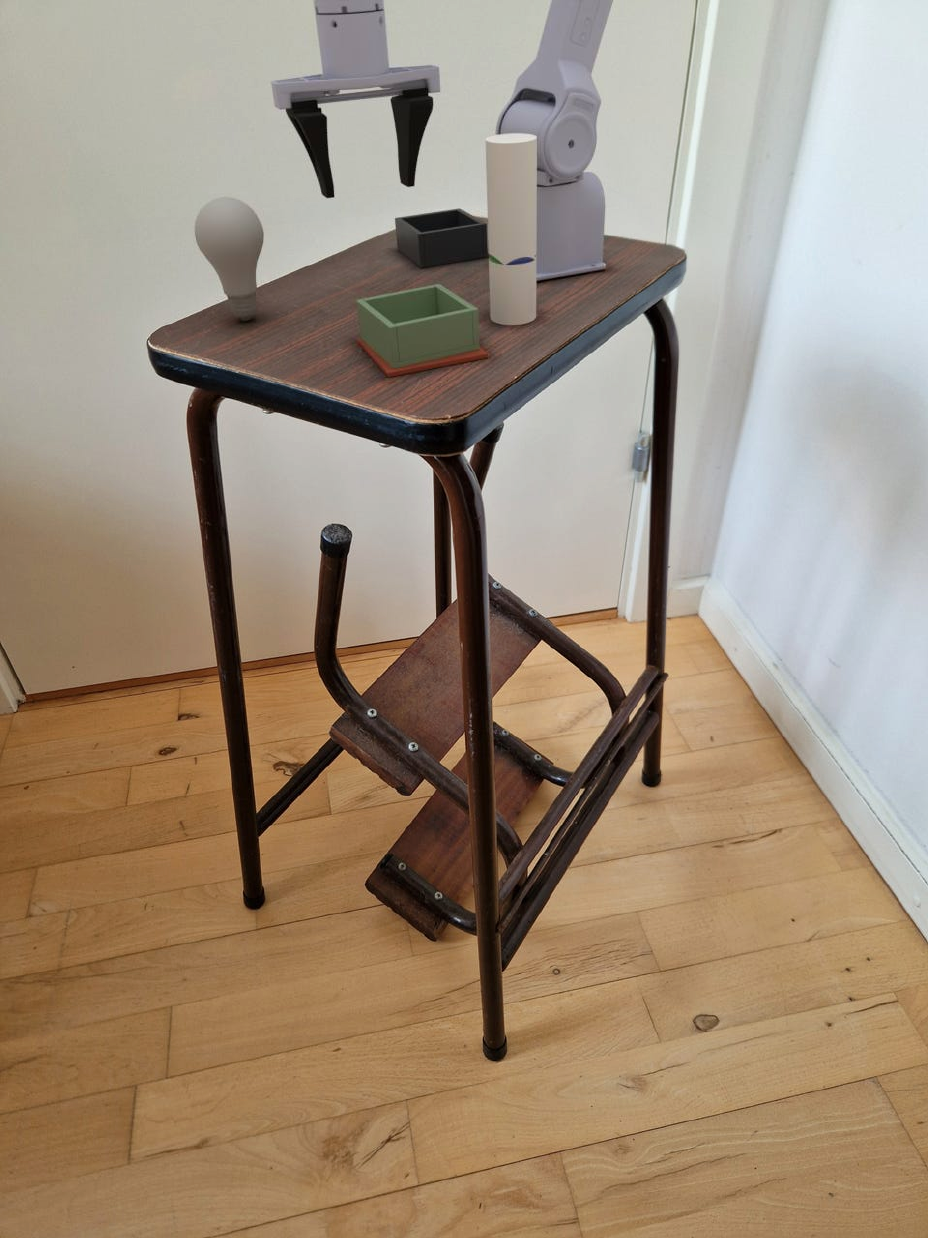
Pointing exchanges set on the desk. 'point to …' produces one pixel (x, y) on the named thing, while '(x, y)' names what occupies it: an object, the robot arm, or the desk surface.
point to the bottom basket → (441, 237)
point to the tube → (512, 226)
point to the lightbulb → (232, 250)
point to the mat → (424, 365)
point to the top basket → (418, 325)
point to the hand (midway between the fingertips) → (368, 190)
